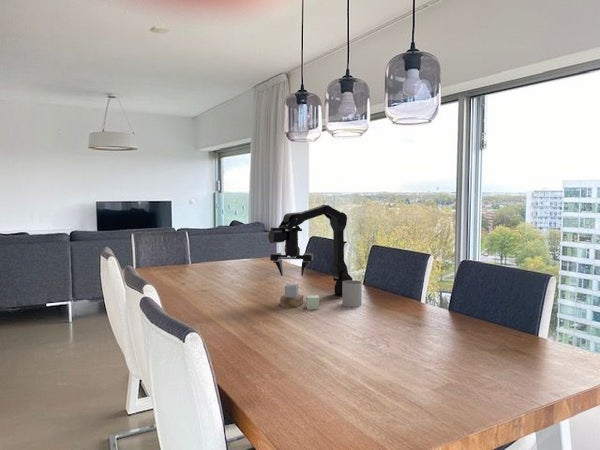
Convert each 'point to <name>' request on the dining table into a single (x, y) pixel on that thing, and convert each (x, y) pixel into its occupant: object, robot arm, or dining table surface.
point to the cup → (352, 293)
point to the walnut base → (291, 301)
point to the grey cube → (291, 290)
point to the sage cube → (312, 302)
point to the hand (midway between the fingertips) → (292, 276)
